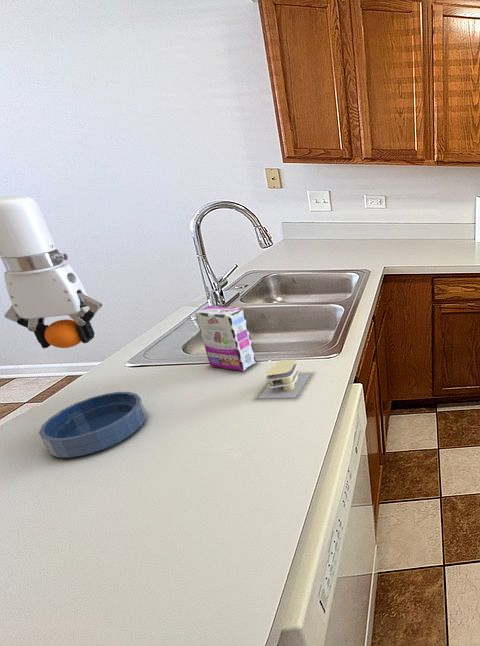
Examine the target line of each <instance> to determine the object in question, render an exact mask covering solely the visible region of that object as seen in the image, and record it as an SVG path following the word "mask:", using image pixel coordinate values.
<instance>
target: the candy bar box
mask: <svg viewBox="0 0 480 646" xmlns="http://www.w3.org/2000/svg"><path fill="white" fill-rule="evenodd" d="M194 315H195V318H196V321H197V325H198V328H199V333H200V335H201V340H202V342H203V345H204V349H205V353H206V356H207V359H208V360H207V361H208V362H209V366H210V367H211V368H216V369H224V370H231V371H237V372H245V371H247V370H248V369H250V368H251V367H253V366H255V365H256V364H257V360H256V356H255V353H254V348H253V344H252V339H251V336H250V331H249V326H248V324H247V319H246V314H245V310H244V309H242V308H232V307H222V306H214V305H213V306H212V305H208V306H206V307H204V308H202V309H200V310H198V311H195V312H194Z"/></svg>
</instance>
